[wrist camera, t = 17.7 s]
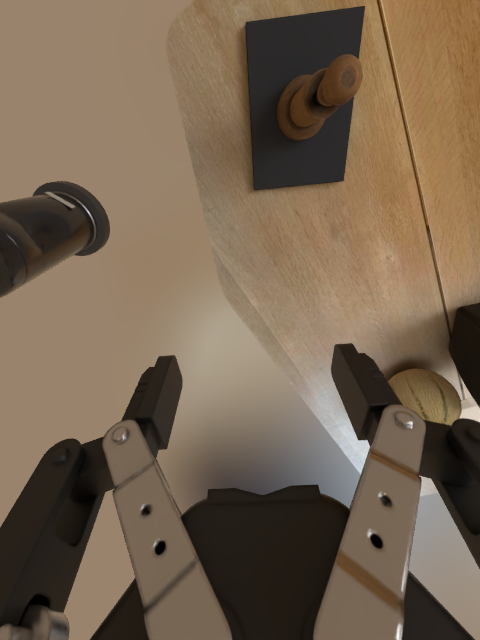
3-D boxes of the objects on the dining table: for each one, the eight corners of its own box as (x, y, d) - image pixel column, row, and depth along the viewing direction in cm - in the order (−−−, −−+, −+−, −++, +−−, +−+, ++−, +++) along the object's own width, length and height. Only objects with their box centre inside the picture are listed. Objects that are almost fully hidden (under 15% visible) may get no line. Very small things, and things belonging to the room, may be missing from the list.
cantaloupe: (424, 346, 59) (473, 398, 46) (440, 380, 65) (487, 433, 53) (364, 374, 64) (394, 427, 51) (384, 403, 70) (416, 456, 58)
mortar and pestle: (333, 113, 34) (406, 80, 19) (295, 151, 37) (334, 149, 22) (305, 64, 32) (365, -18, 17) (266, 109, 34) (288, 73, 19)
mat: (254, 189, 40) (254, 190, 40) (245, 25, 30) (245, 21, 30) (341, 180, 40) (343, 181, 39) (361, 9, 30) (365, 5, 29)
